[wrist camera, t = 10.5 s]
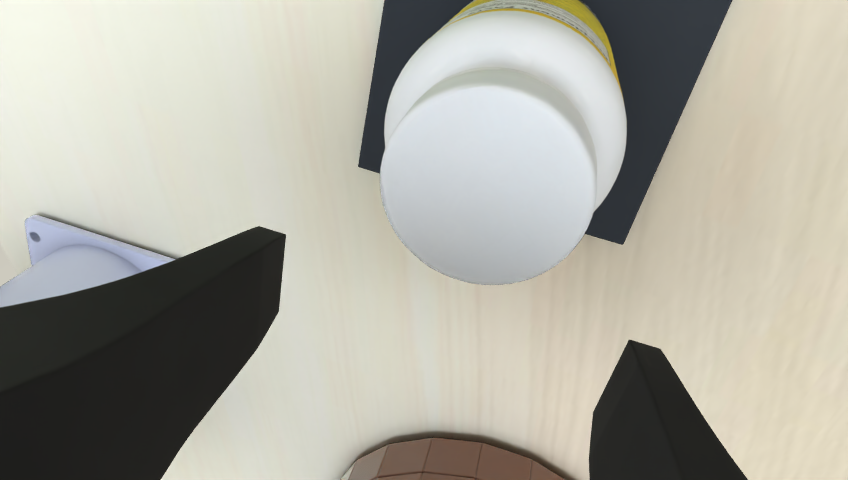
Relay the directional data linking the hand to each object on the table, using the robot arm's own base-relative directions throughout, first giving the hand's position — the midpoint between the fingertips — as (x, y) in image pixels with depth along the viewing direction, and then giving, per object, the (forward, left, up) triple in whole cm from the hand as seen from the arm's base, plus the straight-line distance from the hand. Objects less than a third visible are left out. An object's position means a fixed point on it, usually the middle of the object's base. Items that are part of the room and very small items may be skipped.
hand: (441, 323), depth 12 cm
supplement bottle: (+3, 0, -10) cm, 11 cm away
